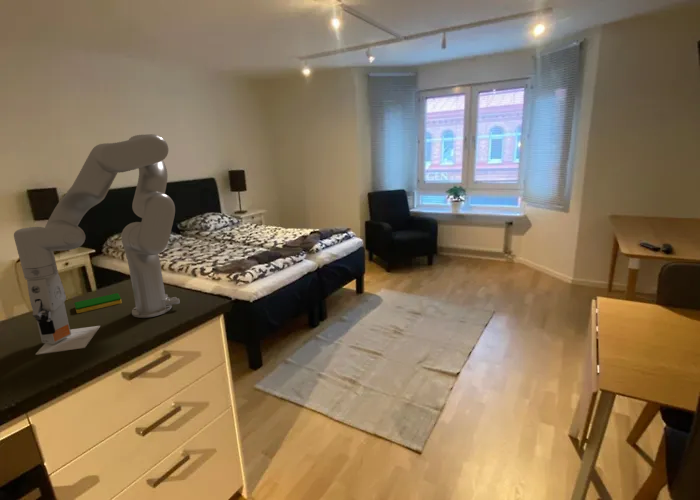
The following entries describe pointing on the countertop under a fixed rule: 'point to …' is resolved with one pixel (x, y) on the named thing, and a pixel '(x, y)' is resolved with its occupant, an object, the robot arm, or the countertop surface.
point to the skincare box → (57, 325)
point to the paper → (71, 340)
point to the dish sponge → (97, 303)
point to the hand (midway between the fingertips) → (54, 327)
